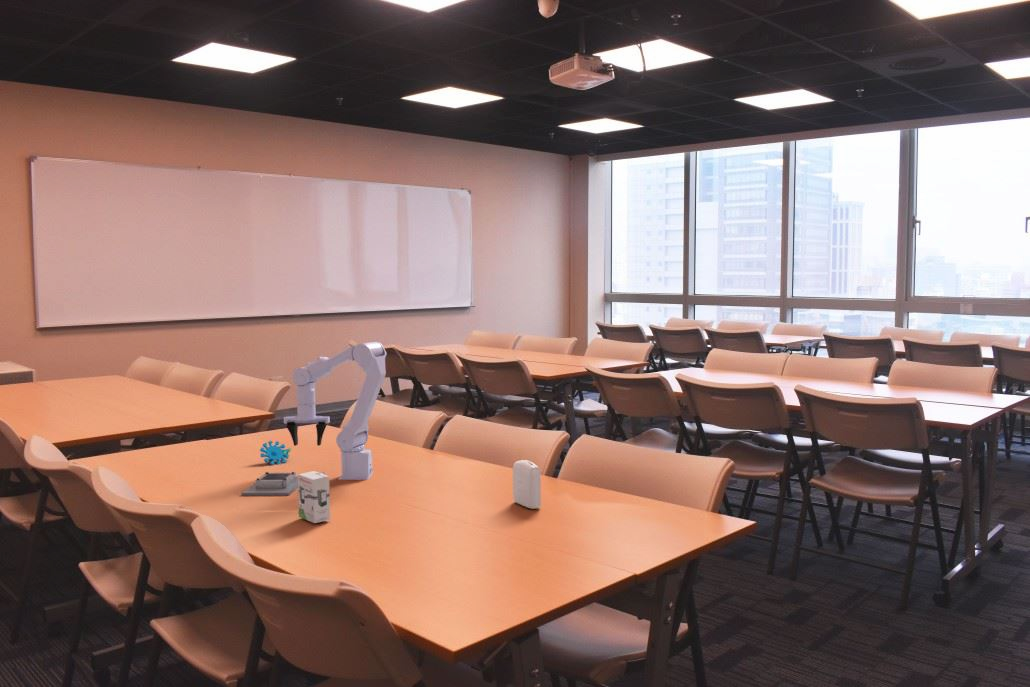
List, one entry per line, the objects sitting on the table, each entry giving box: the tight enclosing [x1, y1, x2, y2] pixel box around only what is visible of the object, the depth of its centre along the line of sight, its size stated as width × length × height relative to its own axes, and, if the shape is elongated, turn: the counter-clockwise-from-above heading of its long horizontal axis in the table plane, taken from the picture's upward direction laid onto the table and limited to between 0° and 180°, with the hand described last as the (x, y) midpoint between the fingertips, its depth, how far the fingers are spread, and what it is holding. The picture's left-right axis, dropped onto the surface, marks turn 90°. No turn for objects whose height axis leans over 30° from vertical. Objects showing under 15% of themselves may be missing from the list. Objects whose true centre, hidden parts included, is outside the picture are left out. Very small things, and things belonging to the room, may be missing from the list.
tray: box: [241, 471, 298, 497], centre depth 251 cm, size 14×20×4 cm
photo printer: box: [512, 459, 542, 510], centre depth 228 cm, size 10×4×12 cm, turn 29°
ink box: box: [297, 470, 331, 524], centre depth 217 cm, size 9×5×12 cm, turn 44°
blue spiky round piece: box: [259, 440, 292, 466], centre depth 283 cm, size 11×6×10 cm
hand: (307, 445), depth 268 cm, fingers open, 7 cm apart
